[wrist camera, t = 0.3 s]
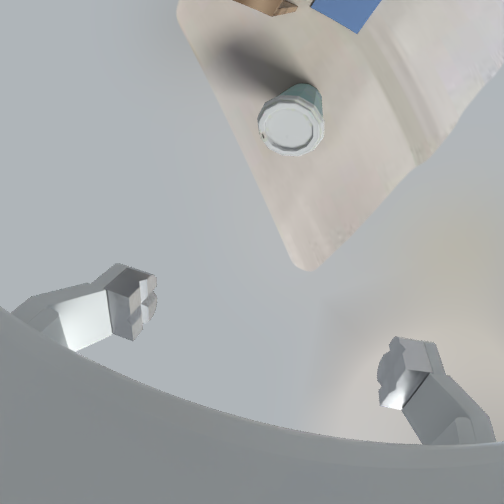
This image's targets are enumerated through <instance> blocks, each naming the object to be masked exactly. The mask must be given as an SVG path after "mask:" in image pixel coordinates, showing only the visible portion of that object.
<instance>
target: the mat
mask: <svg viewBox="0 0 504 504" xmlns="http://www.w3.org/2000/svg"><path fill="white" fill-rule="evenodd" d="M380 2H381V0H315V1H314V3H313V5H312V6H311V8H313V9H315V10H317V11H319V12H320V13H322V14H324V15H326V16H328V17H329V18H331V19H333V20H335V21H336V22H338V23H340V24H342V25H343V26H345V27H347V28H348V29H350V30H352V31H353V32H355V33H356V34H358V32H359V31H360V29H361V28H362V27H363V25H364V24H365V22H366V21H367V20H368V18H369V17H370V15H371V14H372V13H373V11H374V10H375V8H376V7H377V6H378V4H379V3H380Z"/></svg>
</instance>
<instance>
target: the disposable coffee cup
mask: <svg viewBox="0 0 504 504" xmlns="http://www.w3.org/2000/svg"><path fill="white" fill-rule="evenodd" d="M257 119H258V127H259V134H260V137H261V139H262V140H263V142H264V143H265V144H266V146H267V147H268V148H269V149H271V150H273V151H275V152H277V153H279V154H281V155H286V156H300V155H303V154H306V153H308V152H311V151H313V150H314V149H315V148H316V147H317V145H318V144H319V142H320V141H321V140H322V138H323V137H324V119H323V113H322V96H321V95H320V93H319V92H318V90H317V89H316V88H314V87H313V86H311V85H309V84H301V83H298V84H296V85H294V86H292V87H290V88H289V89H287V90H286V91H284V92H283V93H281V94H280V95H278V96H277V97H275V98H273V99H271V100H269V101H267V102H266V103H265V104H264V106H263V108H262V110H261V112H260V113H259V115H258V118H257Z"/></svg>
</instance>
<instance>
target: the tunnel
mask: <svg viewBox="0 0 504 504" xmlns="http://www.w3.org/2000/svg"><path fill="white" fill-rule="evenodd" d="M234 1H236V2H239V3H241V4H244V5H246V6H249V7H251V8H253V9H256V10H258V11H260V12H263V13H265V14H267V15H269V16H271V17H272V16H277V15H281V14H286V13H291V12H295V11H296V9H297V7H298V6H296V5H294V4H292V3H290V2H288V1H285V0H234Z"/></svg>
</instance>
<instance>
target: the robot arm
mask: <svg viewBox="0 0 504 504" xmlns="http://www.w3.org/2000/svg"><path fill="white" fill-rule="evenodd" d="M156 286H157V280H156V277H155V275H153V274H150V273H147V272H144V271H141V270H138V269H135V268H132V267H129V266H126V265H123V264H120V263H117V264H115V265H113V266H112V267H111V268H110V269H108V270H107V271H106V272H105V273H103V274H102V275H101V276H100V277H98V278H97V279H96V280H95V281H94V282H92V283H91V284H89V283H84V284H80V285H76V286H72V287H68V288H64V289H60V290H56V291H52V292H48V293H44V294H40V295H36V296H32V297H30V298H29V299H27V300H26V301H25V302H24V303H22V304H21V305H20V306H19V307H17V308H16V309H15V310H14V311H13V312H11V313H9V312H8V311H6V310H5V309H3V308H2V307H0V504H504V441H502V442H496V439H495V435H494V431H493V428H492V424H491V421H490V418H489V416H488V415H487V414H486V413H485V412H484V411H483V410H482V409H481V408H480V407H479V405H478V404H477V403H476V402H475V401H474V400H473V399H472V398H471V397H470V396H469V395H468V394H467V393H466V392H465V391H464V390H463V389H462V388H461V387H460V386H459V385H458V384H457V383H456V382H455V381H454V380H453V379H452V378H451V377H450V376H448V375H446V374H445V371H444V368H443V364H442V362H441V358H440V356H439V353H438V350H437V347H436V344H435V343H434V342H428V341H419V340H413V339H408V338H403V337H397V336H395V337H394V338H393V339H392V341H391V343H390V344H389V347H390V351H389V352H388V353H386V354H384V355H383V357H382V359H381V361H380V363H379V367H378V372H377V379H378V382H379V383H380V384H381V386H382V387H381V388H380V390H379V401H380V406H382V407H389V408H396V409H402V412H403V414H404V415H405V417H406V418H407V420H408V422H409V423H410V425H411V426H412V428H413V430H414V431H415V433H416V435H417V436H418V438H419V439H420V441H421V443H422V444H423V445H419V444H396V443H383V442H372V441H363V440H354V439H346V438H339V437H332V436H326V435H320V434H314V433H309V432H303V431H298V430H293V429H289V428H284V427H279V426H275V425H270V424H266V423H262V422H258V421H254V420H250V419H246V418H243V417H239V416H236V415H232V414H229V413H225V412H222V411H219V410H215V409H212V408H209V407H206V406H202V405H199V404H197V403H193V402H191V401H188V400H185V399H182V398H179V397H176V396H174V395H171V394H168V393H165V392H163V391H160V390H158V389H155V388H153V387H150V386H148V385H145V384H143V383H141V382H138V381H136V380H133V379H131V378H128V377H126V376H124V375H122V374H120V373H117V372H115V371H113V370H111V369H109V368H107V367H105V366H102V365H100V364H98V363H96V362H94V361H92V360H90V359H88V358H86V357H84V356H82V355H80V354H78V353H77V352H76V351H78V350H80V349H82V348H85V347H86V346H88V345H91V344H93V343H95V342H98V341H100V340H102V339H104V338H106V337H108V336H110V335H112V333H113V334H115V335H118V336H121V337H123V338H126V339H129V340H132V341H134V340H135V339H136V337H137V336H138V335H139V334H140V332H141V331H142V330H143V326H142V324H144V323H147V322H149V321H150V320H151V318H152V317H153V315H154V313H155V310H156V305H157V296H156V294H155V293H154V291H153V290H154V288H155V287H156Z"/></svg>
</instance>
